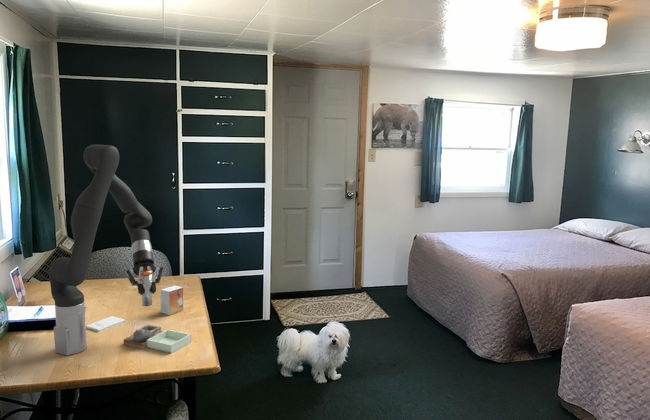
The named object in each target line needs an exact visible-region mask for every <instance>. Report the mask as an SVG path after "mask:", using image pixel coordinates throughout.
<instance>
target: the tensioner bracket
mask: <svg viewBox="0 0 650 420" xmlns="http://www.w3.org/2000/svg"><path fill="white" fill-rule="evenodd" d="M163 331H164V330H162V327H161V326H159V325H153V324H146V325H143V326H142V327H138V329H135V331H134V332H133V334H132V335H130V336H128V337H126V338H123V345H124V346H129V347H133V348H136V349H140V350H144V349H146V348H147V340H148V339H149V338H151V337H153V336H155V335H157V334H159V333H161V332H163Z"/></svg>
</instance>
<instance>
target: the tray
mask: <svg viewBox="0 0 650 420" xmlns="http://www.w3.org/2000/svg"><path fill="white" fill-rule="evenodd" d="M162 331H163V332H161V333H159V334H157V335H155V336H153V337H151V338H149V339H148V340H147V347H146V348H147V349H150V350H151V349H152V350H155V351H160V352H164V353H167V354H173V353H174V352H176V351H178V350H180V349H182V348H183V347H186V346H187V345H188V344H190V343H192V334H191V333H186V332H182V331H178V330H173V329H172V330H171V329H165V330H162Z"/></svg>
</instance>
